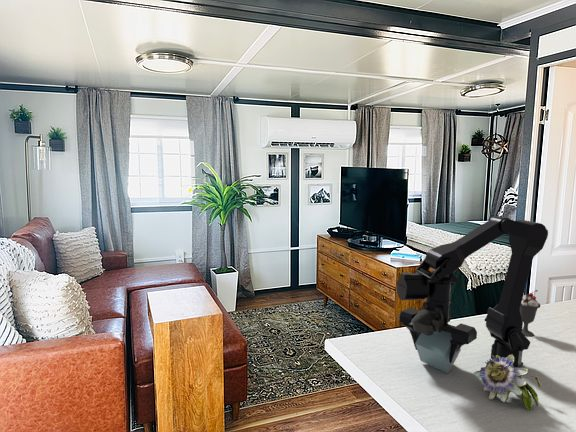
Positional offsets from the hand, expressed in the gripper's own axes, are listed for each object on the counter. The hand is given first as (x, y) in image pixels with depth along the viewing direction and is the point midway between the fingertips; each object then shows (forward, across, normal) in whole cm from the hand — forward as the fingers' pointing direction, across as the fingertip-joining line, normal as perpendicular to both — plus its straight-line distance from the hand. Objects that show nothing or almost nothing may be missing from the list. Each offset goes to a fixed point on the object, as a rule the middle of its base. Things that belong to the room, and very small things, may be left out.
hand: (433, 355), depth 103 cm
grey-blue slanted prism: (+1, 0, +4) cm, 5 cm away
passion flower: (+4, +17, +2) cm, 18 cm away
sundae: (+4, +9, +44) cm, 45 cm away
